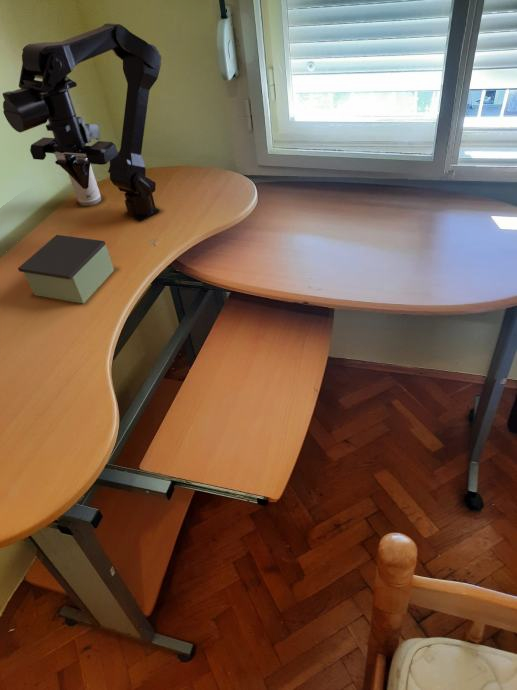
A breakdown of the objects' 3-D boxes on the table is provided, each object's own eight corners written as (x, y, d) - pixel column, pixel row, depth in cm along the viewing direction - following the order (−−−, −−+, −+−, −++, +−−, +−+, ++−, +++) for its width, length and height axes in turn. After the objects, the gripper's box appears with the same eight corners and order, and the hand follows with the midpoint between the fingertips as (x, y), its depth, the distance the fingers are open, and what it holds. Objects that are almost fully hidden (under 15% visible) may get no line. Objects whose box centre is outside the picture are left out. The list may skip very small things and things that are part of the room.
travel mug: (96, 207, 127) (71, 131, 113) (75, 206, 128) (47, 131, 114) (106, 196, 132) (83, 122, 118) (85, 195, 133) (60, 122, 119)
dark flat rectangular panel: (70, 279, 91) (69, 276, 90) (19, 271, 94) (17, 268, 94) (105, 244, 100) (104, 240, 99) (57, 237, 103) (56, 234, 102)
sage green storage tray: (83, 303, 96) (72, 277, 91) (34, 295, 99) (21, 269, 95) (114, 270, 104) (105, 244, 100) (68, 263, 108) (57, 237, 103)
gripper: (121, 105, 98) (138, 176, 109) (48, 101, 103) (72, 170, 114) (92, 123, 91) (114, 198, 101) (15, 119, 96) (44, 190, 106)
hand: (86, 188), depth 106 cm, fingers closed
